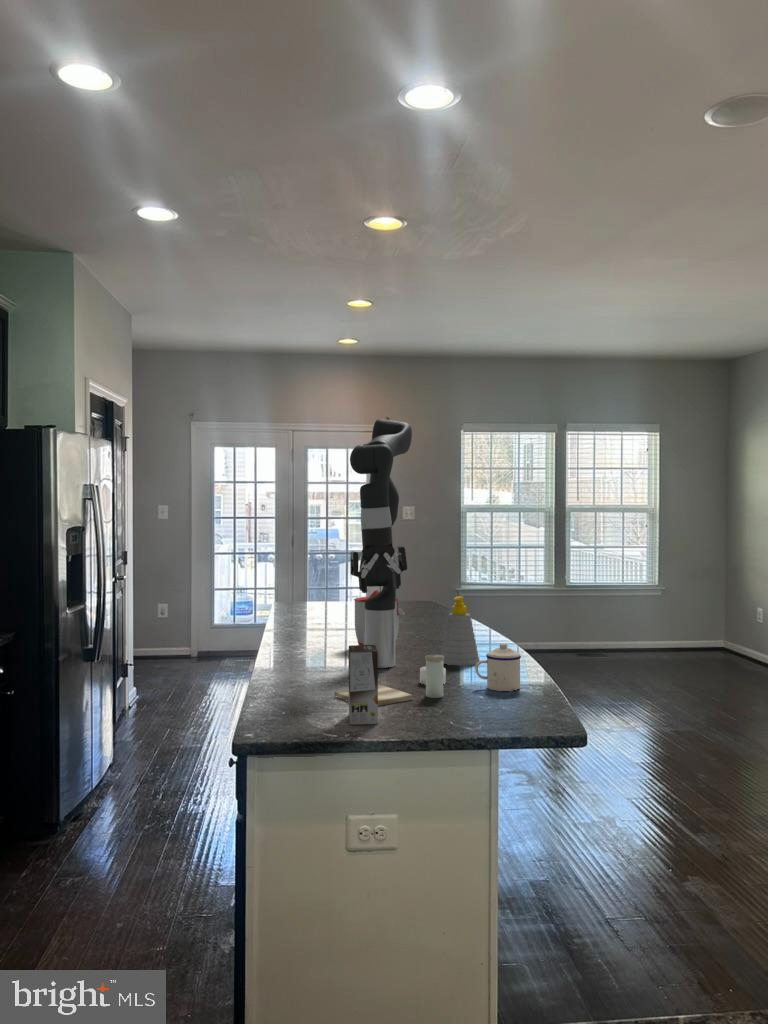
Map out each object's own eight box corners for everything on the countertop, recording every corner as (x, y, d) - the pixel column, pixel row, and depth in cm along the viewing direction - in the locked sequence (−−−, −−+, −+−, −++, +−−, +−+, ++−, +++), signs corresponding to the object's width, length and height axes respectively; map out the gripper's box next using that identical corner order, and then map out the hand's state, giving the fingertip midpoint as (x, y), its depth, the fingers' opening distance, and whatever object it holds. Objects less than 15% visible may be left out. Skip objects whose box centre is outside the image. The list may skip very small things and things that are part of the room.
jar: (421, 695, 196) (421, 655, 196) (436, 692, 199) (436, 653, 199) (433, 699, 192) (433, 658, 192) (448, 696, 195) (448, 656, 195)
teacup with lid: (518, 684, 208) (517, 641, 208) (523, 692, 199) (523, 646, 199) (473, 684, 208) (473, 641, 208) (477, 692, 199) (477, 647, 199)
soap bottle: (434, 664, 236) (433, 597, 236) (446, 657, 247) (446, 593, 248) (473, 667, 231) (473, 599, 231) (484, 660, 243) (484, 595, 243)
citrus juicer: (405, 652, 257) (404, 592, 257) (352, 652, 257) (352, 592, 257) (404, 644, 272) (404, 587, 272) (355, 644, 272) (354, 587, 273)
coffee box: (378, 724, 169) (378, 651, 169) (349, 725, 168) (349, 651, 168) (375, 713, 178) (375, 644, 178) (348, 714, 178) (347, 644, 178)
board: (334, 696, 195) (334, 692, 195) (380, 689, 203) (380, 684, 203) (365, 708, 183) (365, 703, 183) (412, 699, 191) (412, 694, 191)
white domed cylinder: (414, 682, 211) (414, 668, 211) (434, 679, 215) (434, 665, 215) (430, 687, 205) (430, 672, 205) (450, 684, 209) (450, 669, 209)
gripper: (396, 522, 197) (400, 585, 198) (344, 527, 192) (348, 592, 193) (408, 523, 190) (412, 589, 191) (354, 529, 185) (358, 596, 186)
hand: (380, 590), depth 192 cm, fingers open, 8 cm apart
